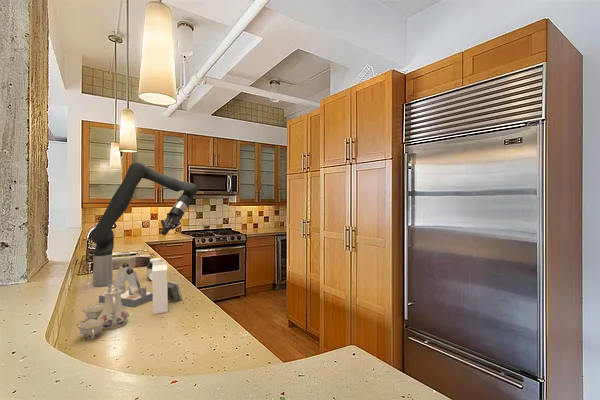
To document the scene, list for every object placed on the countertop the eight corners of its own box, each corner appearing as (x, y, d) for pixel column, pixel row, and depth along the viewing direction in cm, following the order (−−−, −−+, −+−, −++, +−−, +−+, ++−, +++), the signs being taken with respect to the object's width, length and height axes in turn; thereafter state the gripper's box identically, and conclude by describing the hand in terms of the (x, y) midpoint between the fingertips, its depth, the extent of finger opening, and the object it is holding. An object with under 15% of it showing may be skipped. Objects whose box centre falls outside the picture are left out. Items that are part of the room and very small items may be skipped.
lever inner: (110, 289, 157) (120, 261, 162) (115, 290, 160) (124, 263, 165) (118, 290, 155) (128, 262, 161) (123, 291, 158) (132, 263, 163)
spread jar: (160, 275, 203) (160, 257, 203) (170, 278, 197) (170, 259, 196) (141, 279, 194) (141, 260, 193) (151, 282, 187) (151, 262, 187)
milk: (167, 312, 140) (167, 262, 139) (152, 314, 138) (152, 263, 137) (167, 307, 146) (167, 259, 145) (152, 309, 143) (152, 261, 143)
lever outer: (130, 294, 153) (122, 270, 148) (135, 291, 155) (127, 266, 151) (139, 295, 151) (130, 270, 146) (143, 292, 154) (135, 267, 149)
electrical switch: (182, 300, 156) (181, 282, 155) (173, 304, 151) (171, 285, 150) (171, 296, 161) (169, 279, 160) (161, 300, 157) (159, 282, 156)
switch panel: (99, 302, 153) (98, 287, 153) (120, 294, 165) (119, 280, 164) (135, 307, 146) (134, 291, 146) (154, 298, 158) (154, 284, 158)
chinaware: (81, 323, 133) (75, 284, 131) (126, 310, 142) (121, 274, 140) (79, 350, 109) (72, 304, 108) (133, 333, 119) (128, 290, 117)
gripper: (165, 206, 185) (150, 229, 174) (184, 206, 181) (169, 230, 170) (172, 214, 190) (157, 238, 179) (190, 215, 186) (176, 239, 175)
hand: (163, 234), depth 174 cm, fingers closed
